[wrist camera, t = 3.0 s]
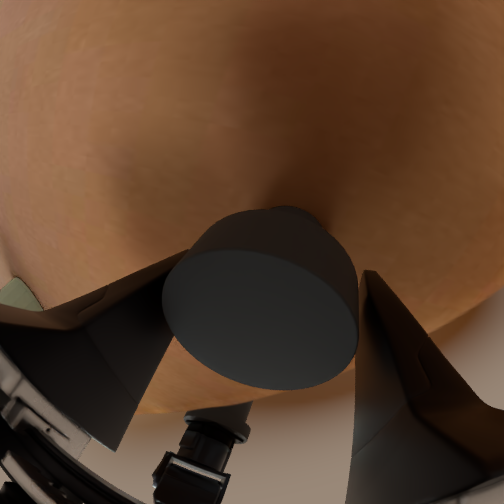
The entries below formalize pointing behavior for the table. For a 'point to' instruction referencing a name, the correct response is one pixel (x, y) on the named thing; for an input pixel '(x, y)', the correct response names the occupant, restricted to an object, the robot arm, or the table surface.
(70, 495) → the robot arm
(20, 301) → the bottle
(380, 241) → the table surface
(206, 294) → the stopper
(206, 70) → the table surface
